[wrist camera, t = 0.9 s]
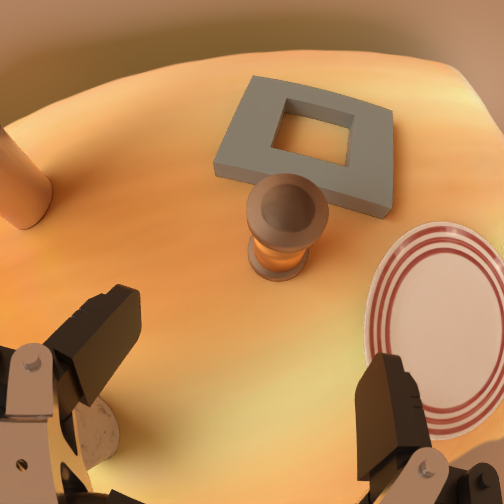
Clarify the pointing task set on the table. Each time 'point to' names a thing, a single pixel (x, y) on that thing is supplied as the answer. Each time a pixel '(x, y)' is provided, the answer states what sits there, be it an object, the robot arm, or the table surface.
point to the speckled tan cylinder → (96, 432)
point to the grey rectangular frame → (317, 171)
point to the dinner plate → (442, 322)
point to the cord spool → (284, 224)
